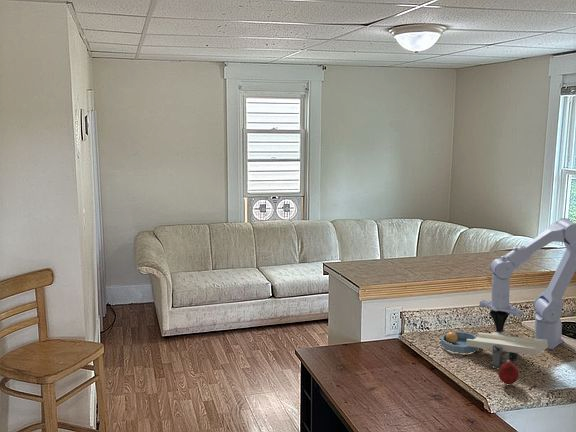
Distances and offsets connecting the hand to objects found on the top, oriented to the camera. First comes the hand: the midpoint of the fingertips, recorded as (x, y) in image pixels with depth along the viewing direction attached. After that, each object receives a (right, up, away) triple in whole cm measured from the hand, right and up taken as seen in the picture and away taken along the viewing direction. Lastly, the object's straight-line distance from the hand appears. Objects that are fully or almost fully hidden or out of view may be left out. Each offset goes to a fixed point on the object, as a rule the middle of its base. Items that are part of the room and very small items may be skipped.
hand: (499, 330), depth 199 cm
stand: (-2, -8, -11) cm, 14 cm away
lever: (+1, -2, -10) cm, 10 cm away
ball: (-16, -3, +3) cm, 16 cm away
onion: (-7, -12, -26) cm, 29 cm away
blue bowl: (-13, -6, +1) cm, 15 cm away
